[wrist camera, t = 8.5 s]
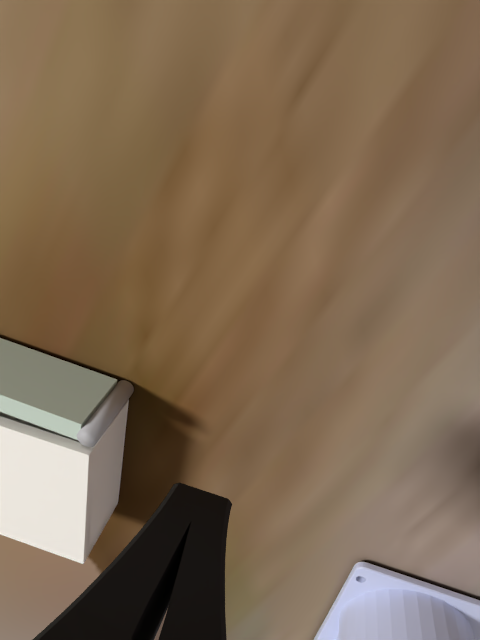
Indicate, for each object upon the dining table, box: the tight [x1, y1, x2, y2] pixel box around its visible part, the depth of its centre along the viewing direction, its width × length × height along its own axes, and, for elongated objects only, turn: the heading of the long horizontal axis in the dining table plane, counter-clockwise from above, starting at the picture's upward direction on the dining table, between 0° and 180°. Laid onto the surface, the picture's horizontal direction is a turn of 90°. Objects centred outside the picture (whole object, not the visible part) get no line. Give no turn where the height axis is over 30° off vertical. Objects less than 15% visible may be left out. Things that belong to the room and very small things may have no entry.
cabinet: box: [0, 400, 129, 564], centre depth 24 cm, size 8×11×4 cm
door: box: [0, 338, 134, 447], centre depth 21 cm, size 1×11×4 cm, turn 76°
